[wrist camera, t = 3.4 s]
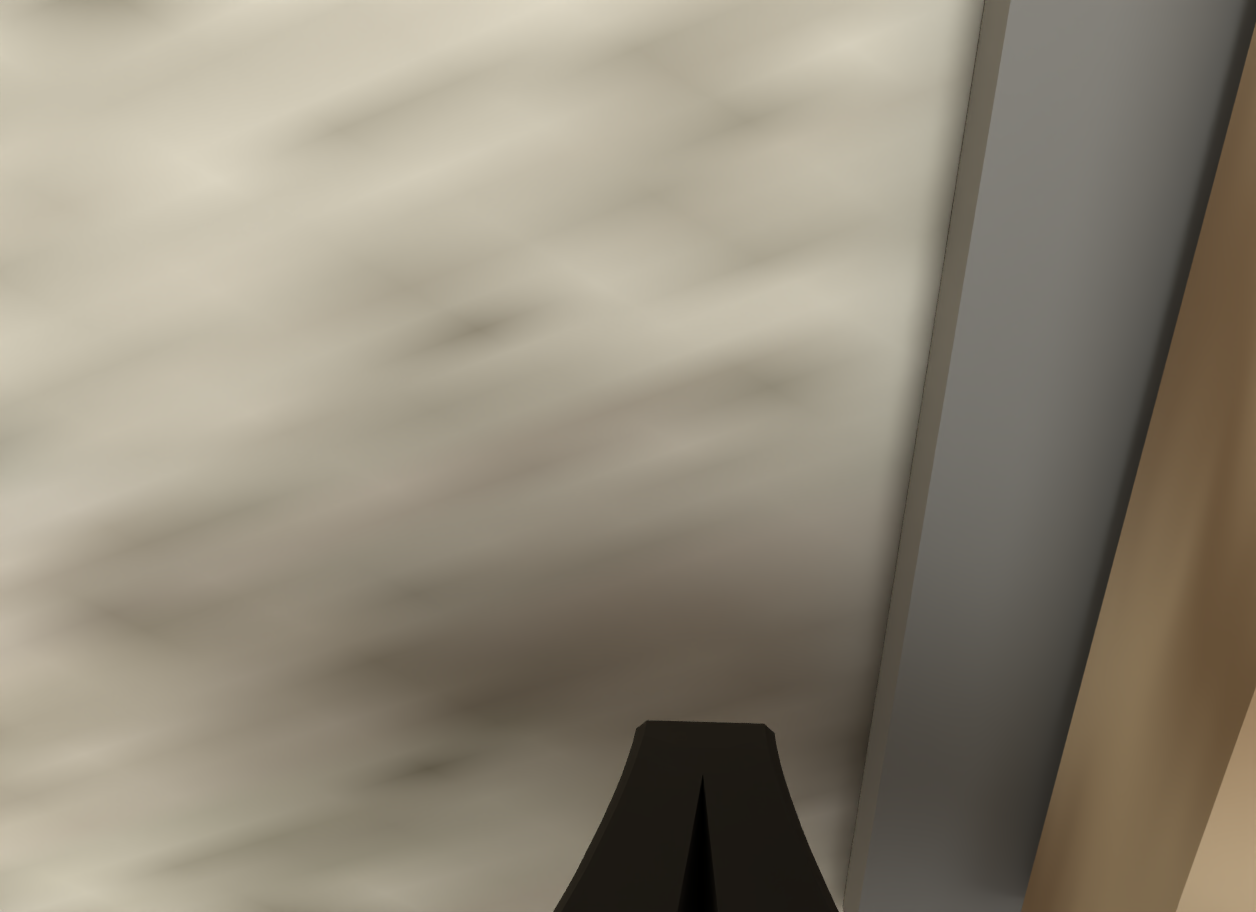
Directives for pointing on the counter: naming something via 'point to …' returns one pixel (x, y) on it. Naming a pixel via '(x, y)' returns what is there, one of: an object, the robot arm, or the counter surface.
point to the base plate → (1034, 423)
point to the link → (1177, 615)
